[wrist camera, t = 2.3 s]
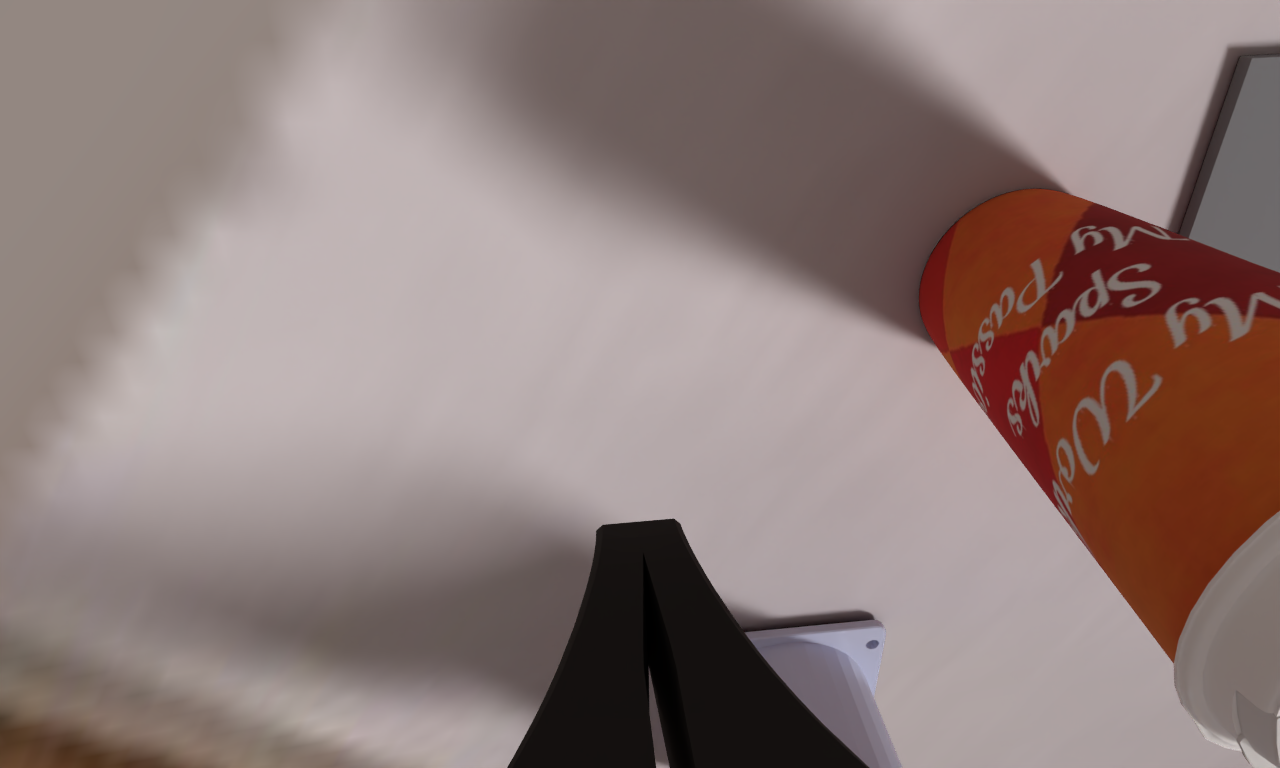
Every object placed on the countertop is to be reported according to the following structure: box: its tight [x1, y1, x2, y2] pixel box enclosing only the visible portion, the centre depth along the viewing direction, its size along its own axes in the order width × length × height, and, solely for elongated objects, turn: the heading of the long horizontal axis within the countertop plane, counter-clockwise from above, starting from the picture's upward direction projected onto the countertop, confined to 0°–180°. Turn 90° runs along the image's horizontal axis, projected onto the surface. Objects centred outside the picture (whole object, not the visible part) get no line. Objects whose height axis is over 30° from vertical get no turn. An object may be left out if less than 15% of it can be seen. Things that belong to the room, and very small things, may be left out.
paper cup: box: [919, 189, 1280, 768], centre depth 17 cm, size 8×8×14 cm
